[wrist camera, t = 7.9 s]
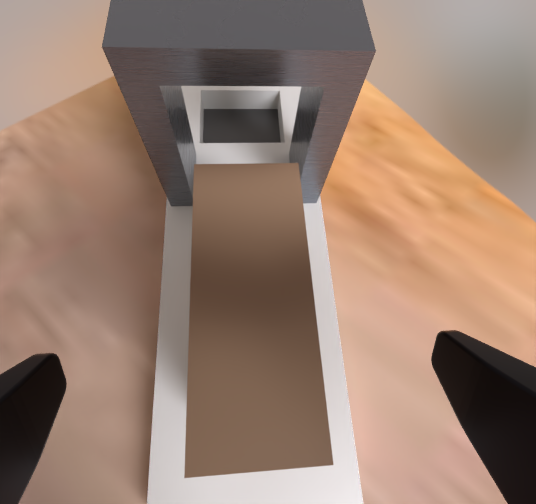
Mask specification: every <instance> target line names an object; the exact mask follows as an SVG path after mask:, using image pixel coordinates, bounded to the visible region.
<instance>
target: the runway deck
mask: <svg viewBox="0 0 536 504" xmlns="http://www.w3.org/2000/svg"><path fill="white" fill-rule="evenodd" d="M181 88H182V93H183V97H184V102H185V106H186V111H187V115H188V120H189V124H190V129H191V133H192V138H193V142H194V147H195V151H196V164H256V163H290V160H289V151H290V145H291V140H292V134H293V129H294V124H295V118H296V113H297V107H298V102H299V96H300V91H301V87H293V86H181ZM303 206H304V215H305V223H306V232H307V241H308V249H309V258H310V266H311V275H312V284H313V292H314V301H315V310H316V318H317V327H318V335H319V344H320V353H321V361H322V370H323V379H324V387H325V396H326V404H327V413H328V422H329V430H330V439H331V448H332V456H333V465H330V466H318V467H307V468H295V469H284V470H272V471H261V472H249V473H238V474H226V475H215V476H203V477H192V478H184V473H185V440H186V408H187V375H188V343H189V310H190V278H191V245H192V213H193V206H171V205H170V203H169V200H168V198H167V202H166V217H165V233H164V248H163V264H162V279H161V294H160V310H159V325H158V341H157V356H156V371H155V387H154V402H153V418H152V433H151V448H150V464H149V479H148V495H147V504H363V497H362V490H361V483H360V476H359V469H358V462H357V455H356V448H355V441H354V433H353V426H352V419H351V412H350V405H349V398H348V391H347V384H346V377H345V369H344V362H343V355H342V348H341V341H340V334H339V327H338V320H337V313H336V305H335V298H334V291H333V284H332V277H331V270H330V263H329V256H328V249H327V241H326V234H325V227H324V220H323V213H322V206H321V199H320V196H319V198H318V201H317V203H303Z"/></svg>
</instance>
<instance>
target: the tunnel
mask: <svg viewBox="0 0 536 504" xmlns="http://www.w3.org/2000/svg"><path fill="white" fill-rule="evenodd" d="M102 48H103V50H104V52H105V55H106V57H107V59H108V62H109V64H110V66H111V69H112V71H113V73H114V76H115V78H116V80H117V83H118V85H119V87H120V90H121V92H122V94H123V96H124V99H125V101H126V103H127V106H128V108H129V110H130V113H131V115H132V117H133V120H134V122H135V124H136V127H137V129H138V131H139V133H140V136H141V138H142V140H143V143H144V145H145V147H146V150H147V152H148V154H149V157H150V159H151V161H152V163H153V166H154V168H155V170H156V173H157V175H158V177H159V180H160V182H161V184H162V187H163V189H164V191H165V194H166V196H167V198H168V200H169V203H170V205H171V206H193V180H194V164H196V151H195V147H194V142H193V138H192V133H191V129H190V124H189V120H188V115H187V111H186V106H185V102H184V97H183V93H182V88H181V86H293V87H301V91H300V96H299V102H298V107H297V113H296V118H295V124H294V129H293V134H292V140H291V145H290V151H289V160H290V163H299V172H300V180H301V189H302V197H303V203H317V201H318V198H319V196H320V193H321V191H322V188H323V186H324V183H325V180H326V178H327V175H328V173H329V170H330V168H331V165H332V162H333V160H334V157H335V155H336V152H337V150H338V147H339V144H340V142H341V139H342V137H343V134H344V132H345V129H346V126H347V124H348V121H349V119H350V116H351V114H352V111H353V108H354V106H355V103H356V101H357V98H358V96H359V93H360V90H361V88H362V85H363V83H364V80H365V78H366V75H367V72H368V70H369V67H370V65H371V62H372V59H373V57H374V54H375V51H376V50H375V47H374V43H373V39H372V36H371V31H370V28H369V24H368V20H367V17H366V13H365V9H364V6H363V1H362V0H111V2H110V7H109V13H108V18H107V23H106V28H105V34H104V40H103V44H102Z"/></svg>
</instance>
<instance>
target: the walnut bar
mask: <svg viewBox="0 0 536 504" xmlns="http://www.w3.org/2000/svg"><path fill="white" fill-rule="evenodd" d="M330 465H333V456H332V448H331V439H330V430H329V422H328V413H327V404H326V396H325V387H324V379H323V370H322V361H321V353H320V344H319V335H318V327H317V318H316V310H315V301H314V292H313V284H312V275H311V266H310V258H309V249H308V241H307V232H306V223H305V215H304V206H303V197H302V189H301V180H300V172H299V163H256V164H194V180H193V213H192V245H191V278H190V310H189V343H188V375H187V408H186V440H185V473H184V478H192V477H203V476H215V475H226V474H238V473H249V472H261V471H272V470H284V469H295V468H307V467H318V466H330Z"/></svg>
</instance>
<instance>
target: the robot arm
mask: <svg viewBox="0 0 536 504" xmlns="http://www.w3.org/2000/svg"><path fill="white" fill-rule="evenodd" d="M431 361H432V366H433V368H434V371H435V373H436V375H437V377H438V379H439V381H440V383H441V385H442V387H443V389H444V391H445V393H446V396H447V398H448V400H449V402H450V404H451V406H452V408H453V410H454V412H455V414H456V416H457V418H458V420H459V422H460V424H461V426H462V428H463V430H464V431H465V433H466V435H467V437H468V438H469V440H470V442H471V443H472V445H473V447H474V448H475V450H476V452H477V453H478V455H479V457H480V458H481V460H482V462H483V463H484V465H485V467H486V468H487V470H488V472H489V473H490V475H491V477H492V478H493V480H494V482H495V483H496V485H497V487H498V488H499V490H500V492H501V493H502V495H503V497H504V498H505V500H506V502H507V503H508V504H536V367H534V366H532V365H529V364H527V363H525V362H523V361H521V360H519V359H517V358H515V357H512V356H510V355H508V354H506V353H504V352H502V351H500V350H498V349H495V348H493V347H491V346H489V345H487V344H485V343H483V342H481V341H479V340H476V339H474V338H472V337H470V336H468V335H466V334H464V333H462V332H459V331H456V330H450V331H441V332H439V333H438V334H437V337H436V341H435V345H434V349H433V353H432V358H431ZM65 391H66V378H65V375H64V372H63V369H62V366H61V363H60V360H59V357H58V356H57V355H56V354H54V353H45V354H35V355H33V356H31V357H29V358H28V359H26V360H24V361H23V362H21V363H19V364H17V365H16V366H14V367H12V368H11V369H9V370H7V371H6V372H4V373H2V374H0V504H18V503H19V501H20V499H21V497H22V495H23V493H24V491H25V489H26V487H27V485H28V483H29V481H30V479H31V477H32V475H33V472H34V470H35V468H36V466H37V464H38V462H39V459H40V457H41V454H42V452H43V449H44V447H45V444H46V442H47V439H48V436H49V434H50V431H51V428H52V426H53V423H54V420H55V418H56V415H57V412H58V410H59V407H60V404H61V402H62V399H63V397H64V394H65Z"/></svg>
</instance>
